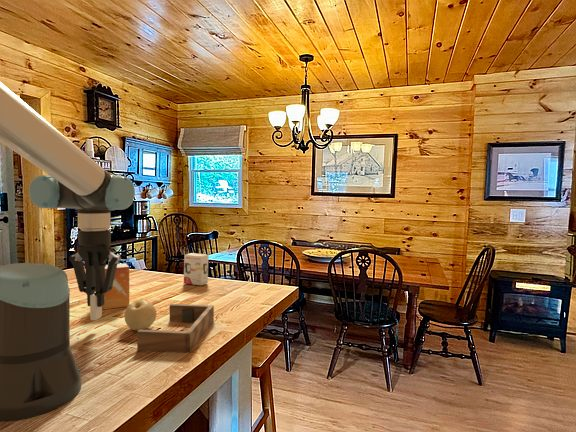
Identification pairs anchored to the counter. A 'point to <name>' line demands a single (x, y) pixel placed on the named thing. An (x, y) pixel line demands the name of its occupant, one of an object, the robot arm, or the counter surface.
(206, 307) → the trough
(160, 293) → the counter surface
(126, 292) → the small box
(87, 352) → the counter surface
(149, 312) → the apple
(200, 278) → the ink box
